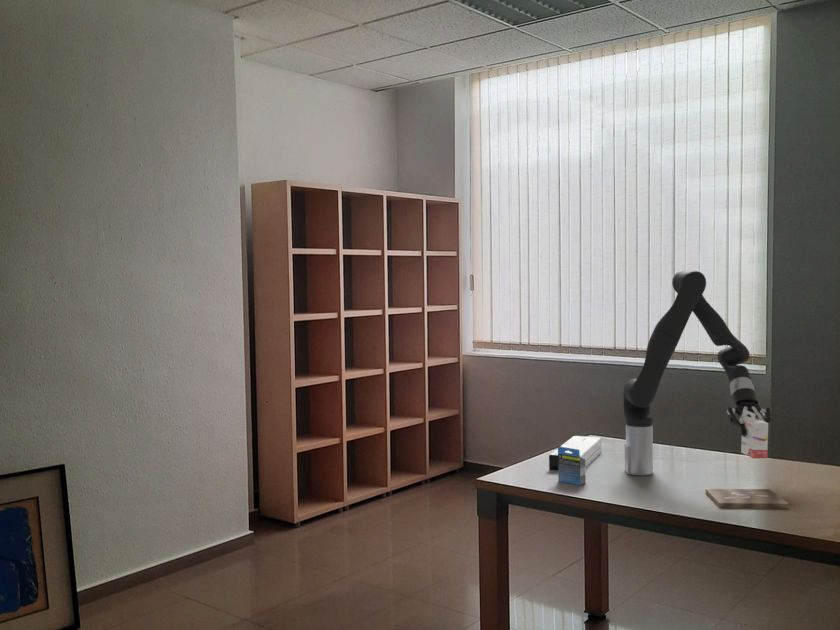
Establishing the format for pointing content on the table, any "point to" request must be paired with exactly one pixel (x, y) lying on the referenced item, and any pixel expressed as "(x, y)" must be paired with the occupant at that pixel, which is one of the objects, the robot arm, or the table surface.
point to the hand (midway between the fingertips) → (754, 435)
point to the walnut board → (746, 498)
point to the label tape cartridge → (571, 466)
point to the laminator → (586, 447)
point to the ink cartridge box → (754, 436)
